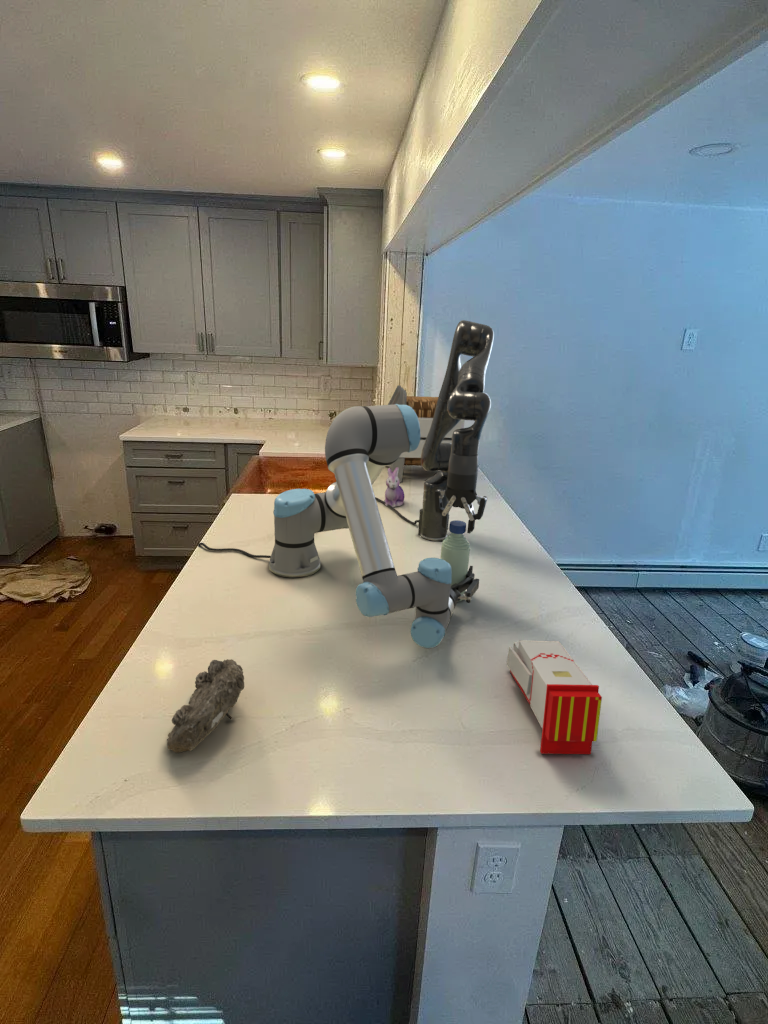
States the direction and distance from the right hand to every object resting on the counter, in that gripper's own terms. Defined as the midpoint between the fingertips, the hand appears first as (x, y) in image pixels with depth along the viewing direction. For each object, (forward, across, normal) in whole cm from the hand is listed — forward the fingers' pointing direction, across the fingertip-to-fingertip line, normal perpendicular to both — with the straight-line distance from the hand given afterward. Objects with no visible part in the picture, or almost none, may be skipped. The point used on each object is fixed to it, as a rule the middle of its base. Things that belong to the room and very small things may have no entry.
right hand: (457, 530), depth 152 cm
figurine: (+20, +43, -65) cm, 80 cm away
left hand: (+13, 0, -5) cm, 14 cm away
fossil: (+20, +28, +68) cm, 76 cm away
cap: (-2, 0, 0) cm, 2 cm away
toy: (+20, -30, +37) cm, 52 cm away
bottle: (+20, 0, 0) cm, 20 cm away
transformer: (+20, +48, -114) cm, 125 cm away
